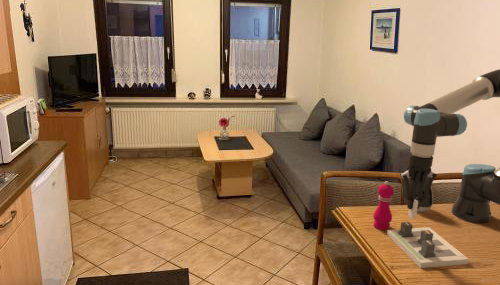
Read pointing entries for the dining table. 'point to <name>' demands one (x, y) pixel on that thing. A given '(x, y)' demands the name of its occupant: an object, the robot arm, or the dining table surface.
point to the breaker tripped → (425, 236)
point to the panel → (442, 249)
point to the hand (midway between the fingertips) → (411, 216)
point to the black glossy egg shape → (426, 202)
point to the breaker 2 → (427, 249)
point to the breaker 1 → (405, 229)
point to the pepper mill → (383, 207)
